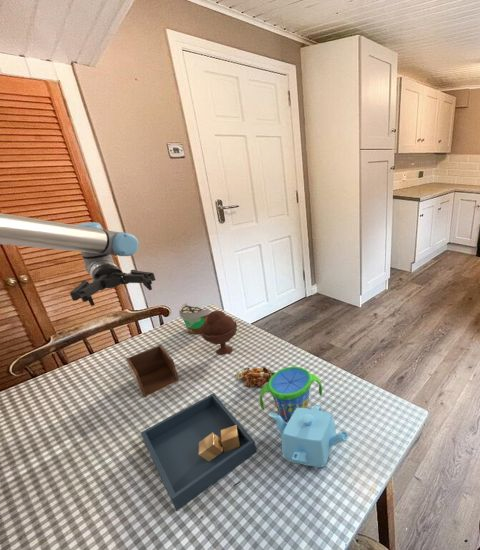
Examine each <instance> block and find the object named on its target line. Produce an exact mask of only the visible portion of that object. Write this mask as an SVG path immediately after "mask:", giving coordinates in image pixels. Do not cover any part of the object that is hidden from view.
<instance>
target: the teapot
mask: <svg viewBox="0 0 480 550" xmlns="http://www.w3.org/2000/svg"><path fill="white" fill-rule="evenodd" d="M269 417H271V418H272V419H273V420H274V421H275V422H276V424H277V428H278V432H279V434H280V436H281V438H282V439H281V452H282V456H283V458H284V459H285V460H287V461H289V462H291V463H293V464H299V465H304V466H309V467H313V468H315V469H319V468H323V467H325V466H326V464H327V461H328V459H329V457H330V453H331V451H332V449H333V447H334V446H336V445H338V444H340V443H343V442H345V441H347V440H348V438H349V435H348V432H347V431H346V430H342V431H340V432H338V433H336V432H337V430H336V423H335V419H334V416H333V414H332V413H331V412H327V411H325V410H324V411H323V410H322V407H321V406H320V405H314V406H313V408H309V407H308V408H296V410H295V411H294V413H293V415H292V416H291V418H290V420H289V421H286V420H285V419H283V418H282V417H281V416H280V415H279V413H276V412H270V413H269Z"/></svg>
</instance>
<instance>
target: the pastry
mask: <svg viewBox="0 0 480 550" xmlns="http://www.w3.org/2000/svg"><path fill="white" fill-rule="evenodd" d="M275 373H276V372H274V371H272V369H270V368H268V367H267V366H263V367H262V368H261V367H253V368H252V369H251V368H250V367H244V369H240V370H239V371H237V372H236V373H235V376H236V377H235V378H236V379H237V380H241V379H242V381H246V382H245V383H244V387H245V388H246V387H250V388H254V387H255V385H258V387H260V388H263V387H264V386H265V385H266V384H267V383H268V382H269V380H270V378H271V377H272V376H273V375H274V374H275Z"/></svg>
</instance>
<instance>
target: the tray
mask: <svg viewBox="0 0 480 550" xmlns="http://www.w3.org/2000/svg"><path fill="white" fill-rule="evenodd" d="M234 425H237V429H238V434H239V441H240V447H237V448H235V449H232V450H229V451H227V452H224V450H223V452H222V453H220V454H219V455H218V456H216V457H215V458H214V459H212V460H211V461H210V462H208V461H207V460H205V459H204V458H202V457H201V456H199V442H200V441H202V440H203V439H204V438H206V437H207V436H209V435H210V434H211V433H214V434H215V435H217V436H218V437H219V438H221V430H223V429H226V428H229V427H232V426H234ZM140 436H141V438H142V440H143V443H144V445H145V447H146V450H147V452H148V454H149V456H150V458H151V461H152V462H153V465H154V467H155V468H156V469H155V470H156V471H157V473H158V476H159V478H160V480H161V481H162V483H163V486H164V488H165V490H166V493H167V495H168V497H169V499H170V500H171V503H172V505H173V507H174V509H175V510H174V511H176V512H178V511H180V510H181V509H182V508H183V507H185V506H186V505H187V504H189V503H190V502H192V501H193V500H194V499H195V498H197V497H198V496H199V495H202V493H204V492H205V491H206V490H208V489H209V488H210V487H212V486H213V485H215V484H216V483H217V482H218V481H220V480H221V479H223V478H224V477H225V476H226V475H228V474H229V473H231V472H232V471H233V470H235V469H236V468H237V467H239V466H240V465H242V464H243V463H244V462H246V461H247V460H248V459H249V458H251V457H252V456H254V455H255V454H256V453H257V446H256V441H255V439H254V438H253V437H252V436H251V434H249V432H248V431H247V430H246V429H245V427H243V425H241V423H240V422H239V421H238V419H237V418H236V417H235V416H234V415H233V413H232V412H231V411H230V410H229V409H228V408H227V407H226V405H225V404H224V402H222V401H221V400H220V398H219V397H218V396H217V395H216V394H215V393H214V392H213V393H211V394H209V395H208V396H206V397H203V398H201V399H200V400H198V401H196V402H195V403H192V404H191V405H189V406H187V407H185V408H184V409H181V410H179V411H177V412H176V413H174V414H172V415H170V416H168V417H167V418H165V419H163V420H161V421H159V422H157V423H155V424H154V425H151V426H150V427H148V428H146V429H145V430H142V431H141V432H140Z"/></svg>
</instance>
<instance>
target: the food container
mask: <svg viewBox="0 0 480 550" xmlns="http://www.w3.org/2000/svg"><path fill="white" fill-rule="evenodd" d="M210 313H211V312H210V310H209V308H206V309H203V308H201V307H198V306H191V305H188V303H184V304H182V305H181V306H180V307H179V317H180V318H182V319H183V322H184V325H185V327H186V330H187V333H188V334H189V335H195V336H196V335H201V329H203V326H204V325H205V324H206V323H207V317H208V315H209V314H210Z"/></svg>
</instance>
